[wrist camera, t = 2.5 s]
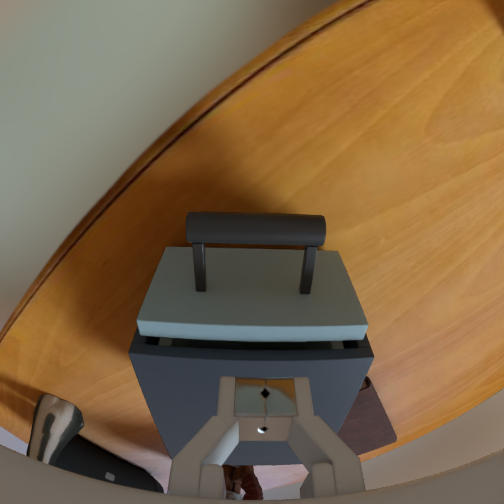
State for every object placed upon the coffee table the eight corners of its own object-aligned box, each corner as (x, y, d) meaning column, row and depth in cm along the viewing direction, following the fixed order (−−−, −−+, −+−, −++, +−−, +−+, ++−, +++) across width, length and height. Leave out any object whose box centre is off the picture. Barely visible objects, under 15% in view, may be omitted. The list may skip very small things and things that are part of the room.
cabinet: (163, 259, 24) (127, 352, 16) (339, 263, 25) (374, 357, 16) (183, 382, 32) (171, 460, 24) (310, 384, 33) (321, 462, 24)
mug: (154, 450, 42) (153, 532, 29) (225, 420, 41) (239, 515, 27) (201, 473, 47) (208, 545, 34) (268, 447, 46) (287, 526, 32)
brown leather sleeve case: (368, 374, 32) (372, 389, 31) (395, 432, 41) (398, 442, 39) (249, 415, 36) (249, 428, 34) (308, 461, 45) (309, 471, 43)
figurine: (97, 415, 38) (60, 567, 16) (91, 430, 41) (59, 563, 20) (39, 387, 35) (-13, 534, 14) (39, 406, 39) (-3, 535, 17)
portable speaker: (169, 475, 50) (164, 519, 41) (139, 478, 53) (133, 518, 44) (55, 413, 39) (37, 464, 31) (35, 421, 42) (19, 464, 34)
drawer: (160, 182, 20) (118, 239, 14) (348, 188, 21) (392, 247, 14) (185, 373, 30) (174, 440, 24) (309, 375, 30) (319, 443, 24)
